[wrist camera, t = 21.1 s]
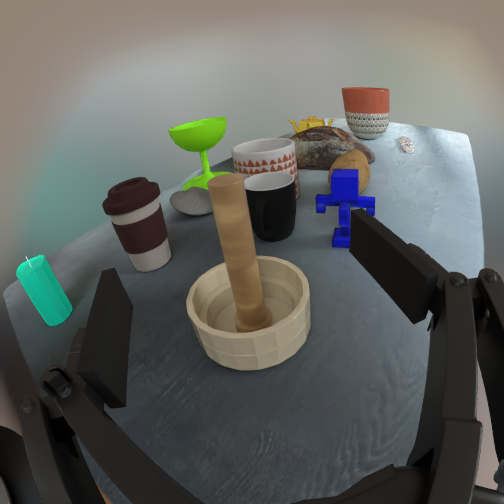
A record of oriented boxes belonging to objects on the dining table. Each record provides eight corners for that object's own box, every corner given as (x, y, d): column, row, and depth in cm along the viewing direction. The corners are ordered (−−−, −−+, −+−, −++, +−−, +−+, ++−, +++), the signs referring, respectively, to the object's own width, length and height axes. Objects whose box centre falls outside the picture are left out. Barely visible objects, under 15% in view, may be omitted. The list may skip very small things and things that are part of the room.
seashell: (166, 214, 69) (180, 220, 61) (163, 191, 67) (176, 194, 59) (209, 204, 75) (228, 209, 67) (207, 182, 73) (226, 185, 65)
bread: (293, 146, 108) (290, 121, 102) (378, 150, 93) (377, 122, 87) (262, 168, 88) (257, 136, 83) (370, 174, 73) (369, 138, 68)
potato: (319, 204, 61) (317, 162, 56) (343, 180, 71) (341, 145, 66) (358, 210, 57) (358, 166, 52) (375, 185, 67) (375, 148, 62)
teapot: (337, 139, 111) (335, 116, 106) (310, 144, 107) (307, 120, 102) (315, 134, 123) (313, 113, 118) (289, 139, 119) (287, 118, 114)
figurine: (376, 243, 46) (380, 174, 40) (342, 259, 44) (342, 185, 38) (347, 225, 52) (347, 162, 46) (314, 239, 50) (310, 171, 44)
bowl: (234, 394, 28) (220, 361, 24) (184, 321, 38) (170, 286, 35) (333, 331, 33) (335, 293, 30) (268, 279, 43) (263, 243, 40)
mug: (257, 220, 59) (250, 172, 53) (302, 221, 56) (298, 170, 50) (237, 255, 49) (226, 198, 44) (290, 257, 47) (285, 198, 41)
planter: (343, 142, 106) (339, 89, 94) (347, 133, 120) (343, 87, 109) (392, 144, 98) (390, 90, 87) (389, 134, 113) (387, 88, 101)
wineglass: (182, 199, 76) (166, 134, 66) (182, 182, 89) (169, 127, 79) (241, 185, 77) (230, 119, 68) (232, 170, 91) (222, 115, 81)
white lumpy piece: (401, 152, 88) (401, 150, 88) (396, 136, 109) (396, 134, 109) (417, 154, 86) (417, 151, 86) (409, 137, 107) (409, 136, 106)
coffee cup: (147, 284, 46) (115, 200, 38) (119, 268, 52) (90, 195, 44) (189, 253, 52) (167, 173, 44) (158, 242, 58) (135, 172, 50)
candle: (40, 324, 40) (5, 268, 34) (56, 302, 45) (26, 247, 39) (61, 327, 39) (24, 267, 33) (78, 303, 44) (47, 244, 38)
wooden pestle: (248, 344, 32) (212, 193, 23) (229, 322, 36) (192, 182, 26) (280, 326, 34) (259, 176, 24) (259, 306, 37) (234, 168, 28)
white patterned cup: (237, 193, 73) (229, 144, 66) (291, 183, 74) (285, 134, 67) (244, 215, 62) (233, 156, 55) (307, 203, 62) (302, 145, 55)
